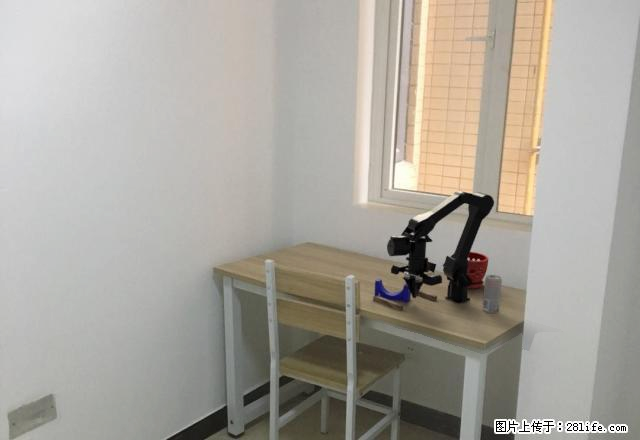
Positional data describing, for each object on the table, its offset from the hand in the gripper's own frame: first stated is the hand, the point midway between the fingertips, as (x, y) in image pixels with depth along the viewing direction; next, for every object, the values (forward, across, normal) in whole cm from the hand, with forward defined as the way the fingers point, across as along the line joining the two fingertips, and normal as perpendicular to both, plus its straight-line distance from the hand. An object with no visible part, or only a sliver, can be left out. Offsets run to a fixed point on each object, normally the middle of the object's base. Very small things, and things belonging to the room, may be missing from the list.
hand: (414, 297), depth 207 cm
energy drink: (+2, -20, -16) cm, 26 cm away
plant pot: (+2, +1, -33) cm, 33 cm away
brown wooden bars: (+2, +4, 0) cm, 5 cm away
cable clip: (+2, +9, +2) cm, 9 cm away
